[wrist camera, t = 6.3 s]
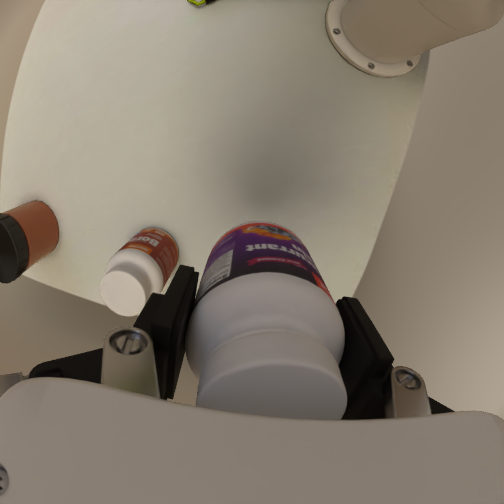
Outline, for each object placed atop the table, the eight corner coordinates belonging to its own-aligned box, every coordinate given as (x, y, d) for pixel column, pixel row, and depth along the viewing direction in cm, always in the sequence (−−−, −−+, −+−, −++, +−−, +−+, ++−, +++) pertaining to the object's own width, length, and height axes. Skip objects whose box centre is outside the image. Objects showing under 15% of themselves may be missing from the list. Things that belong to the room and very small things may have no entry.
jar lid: (-13, 208, 25) (-25, 213, 23) (27, 219, 26) (15, 225, 24) (-8, 267, 28) (-19, 274, 26) (31, 282, 28) (21, 291, 26)
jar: (20, 196, 32) (-22, 212, 23) (59, 205, 32) (18, 224, 24) (21, 248, 34) (-16, 272, 26) (59, 260, 35) (23, 289, 27)
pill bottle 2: (328, 253, 16) (411, 383, 7) (270, 325, 17) (289, 474, 8) (243, 197, 15) (238, 293, 5) (189, 280, 16) (139, 426, 7)
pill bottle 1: (170, 220, 34) (139, 255, 23) (186, 268, 36) (164, 318, 25) (125, 233, 34) (82, 270, 24) (141, 278, 36) (108, 326, 26)
